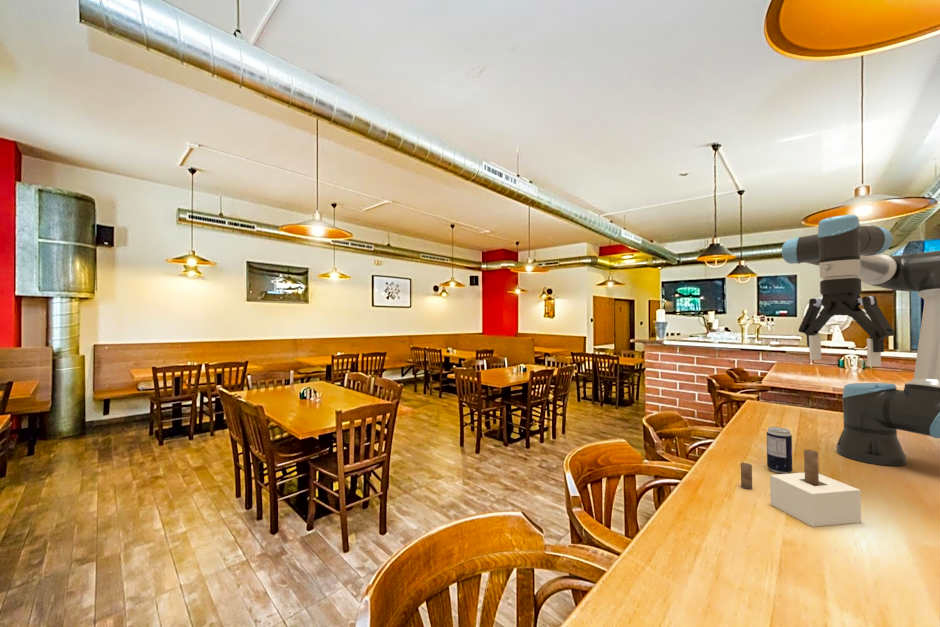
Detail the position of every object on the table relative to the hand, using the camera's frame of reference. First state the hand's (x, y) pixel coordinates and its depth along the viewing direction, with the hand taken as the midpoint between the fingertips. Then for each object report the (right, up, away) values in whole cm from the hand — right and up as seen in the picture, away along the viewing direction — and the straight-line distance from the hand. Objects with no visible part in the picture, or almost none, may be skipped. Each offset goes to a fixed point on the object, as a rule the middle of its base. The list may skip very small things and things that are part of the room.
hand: (843, 362), depth 98 cm
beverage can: (-5, -33, +14) cm, 36 cm away
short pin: (-22, -33, +4) cm, 40 cm away
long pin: (-16, -33, -10) cm, 38 cm away
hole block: (-16, -33, -10) cm, 38 cm away
